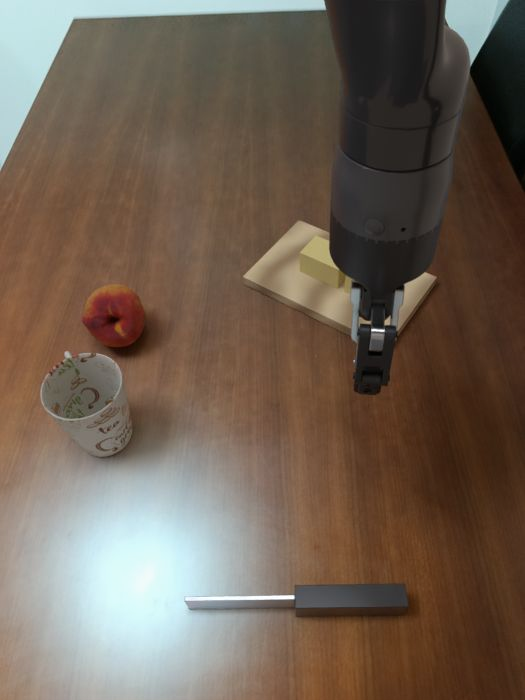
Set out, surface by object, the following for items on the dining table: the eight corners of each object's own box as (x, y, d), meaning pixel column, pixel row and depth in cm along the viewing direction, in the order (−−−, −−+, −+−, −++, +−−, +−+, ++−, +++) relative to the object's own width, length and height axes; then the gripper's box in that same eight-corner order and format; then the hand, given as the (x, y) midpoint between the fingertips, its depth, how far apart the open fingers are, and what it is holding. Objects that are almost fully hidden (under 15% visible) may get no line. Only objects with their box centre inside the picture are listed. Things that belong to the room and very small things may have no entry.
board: (435, 284, 79) (437, 276, 78) (385, 353, 72) (387, 345, 71) (298, 227, 87) (298, 219, 86) (243, 284, 80) (242, 276, 79)
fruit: (83, 356, 74) (63, 315, 68) (102, 309, 79) (85, 266, 73) (142, 361, 73) (128, 320, 67) (158, 313, 78) (146, 270, 72)
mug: (87, 480, 63) (57, 434, 55) (46, 401, 70) (14, 350, 62) (155, 441, 66) (136, 392, 58) (109, 368, 73) (86, 316, 65)
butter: (352, 270, 79) (354, 251, 76) (337, 288, 77) (338, 269, 74) (315, 254, 81) (315, 235, 79) (299, 271, 79) (299, 252, 77)
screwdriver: (400, 592, 55) (405, 583, 52) (404, 615, 54) (408, 606, 51) (189, 595, 55) (184, 586, 53) (188, 618, 54) (183, 609, 52)
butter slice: (372, 279, 78) (375, 260, 75) (357, 297, 76) (359, 278, 73) (359, 273, 79) (361, 254, 76) (344, 291, 77) (345, 272, 74)
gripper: (453, 278, 34) (413, 423, 46) (440, 140, 42) (409, 294, 55) (323, 272, 35) (319, 415, 47) (336, 138, 43) (330, 290, 56)
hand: (367, 350), depth 51 cm, fingers open, 8 cm apart
